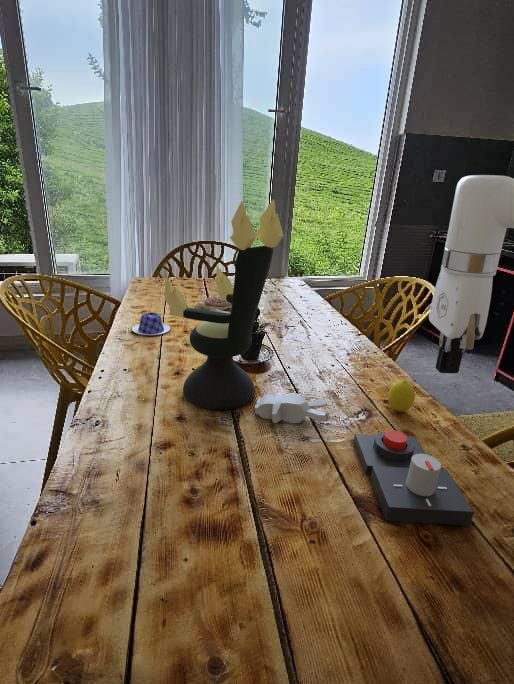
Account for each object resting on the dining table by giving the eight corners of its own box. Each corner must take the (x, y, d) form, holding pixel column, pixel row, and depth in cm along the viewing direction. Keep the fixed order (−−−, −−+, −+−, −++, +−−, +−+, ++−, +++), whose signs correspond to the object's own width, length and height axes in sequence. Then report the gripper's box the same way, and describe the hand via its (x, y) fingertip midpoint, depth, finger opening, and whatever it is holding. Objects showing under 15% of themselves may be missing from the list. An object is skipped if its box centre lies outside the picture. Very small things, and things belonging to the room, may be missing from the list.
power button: (401, 438, 84) (403, 430, 84) (408, 451, 81) (410, 443, 80) (380, 437, 84) (381, 429, 84) (386, 449, 81) (388, 441, 80)
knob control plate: (443, 483, 78) (447, 468, 77) (469, 526, 69) (474, 511, 68) (369, 479, 78) (372, 464, 77) (385, 522, 69) (389, 506, 68)
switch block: (413, 445, 88) (417, 428, 87) (432, 479, 79) (437, 460, 78) (353, 442, 89) (356, 425, 87) (365, 475, 79) (368, 457, 78)
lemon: (387, 416, 98) (393, 384, 95) (383, 404, 103) (389, 373, 100) (413, 419, 98) (420, 387, 94) (408, 407, 103) (415, 376, 100)
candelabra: (214, 369, 117) (219, 189, 100) (288, 396, 105) (308, 197, 88) (164, 396, 102) (160, 192, 85) (243, 431, 91) (257, 202, 74)
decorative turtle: (186, 304, 167) (186, 291, 166) (226, 300, 174) (227, 288, 172) (204, 320, 152) (204, 306, 150) (247, 315, 159) (248, 301, 157)
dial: (402, 477, 75) (408, 451, 73) (428, 478, 75) (435, 452, 73) (411, 495, 70) (417, 468, 68) (439, 497, 70) (446, 469, 68)
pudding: (177, 333, 140) (176, 317, 138) (141, 340, 133) (140, 323, 132) (160, 321, 149) (160, 306, 147) (126, 327, 143) (125, 312, 141)
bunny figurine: (259, 386, 100) (327, 389, 97) (260, 406, 102) (327, 409, 99) (251, 407, 92) (325, 410, 88) (253, 428, 94) (325, 432, 90)
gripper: (426, 252, 74) (409, 352, 81) (466, 272, 60) (441, 391, 67) (472, 253, 74) (450, 353, 81) (522, 273, 60) (491, 393, 67)
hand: (446, 370), depth 74 cm, fingers closed
